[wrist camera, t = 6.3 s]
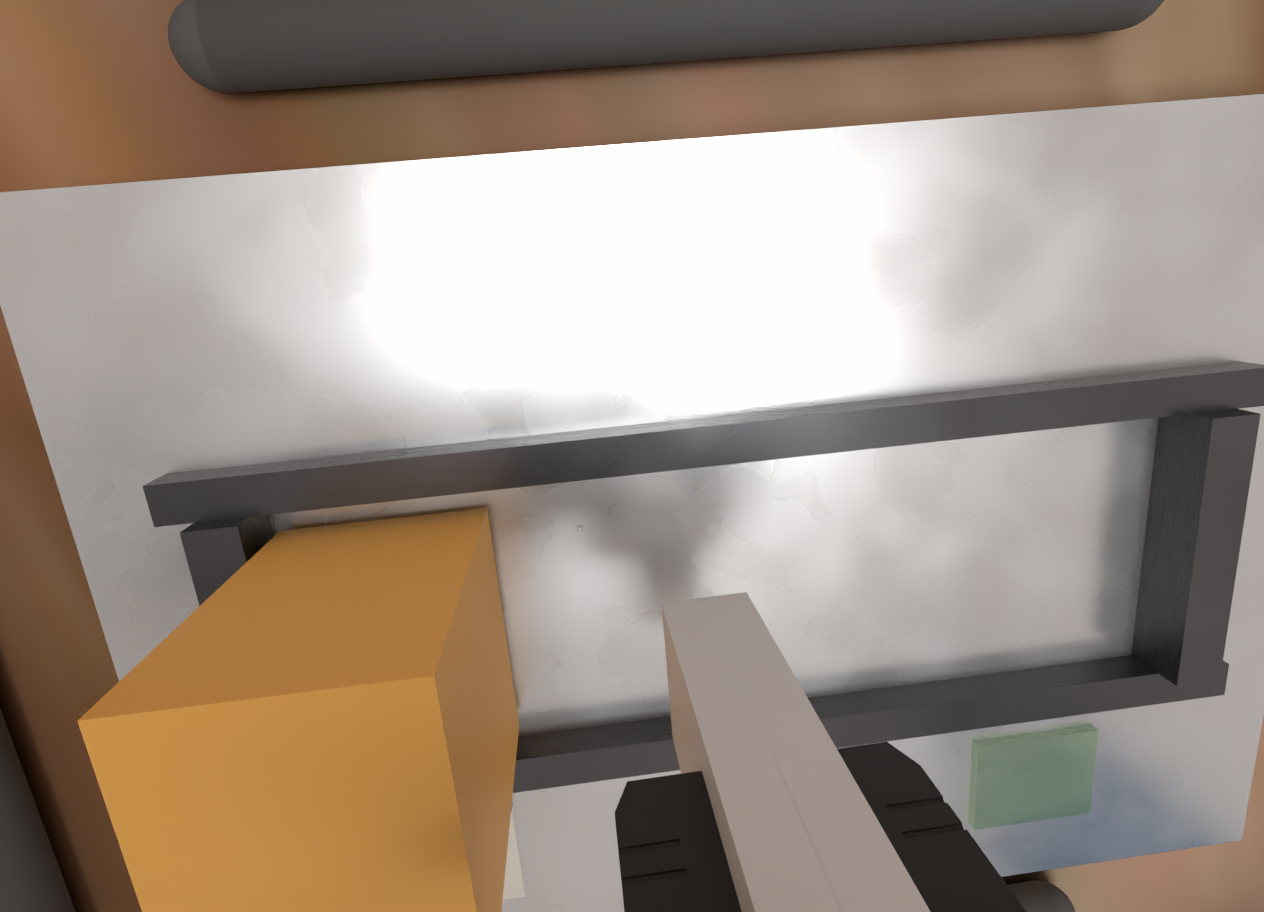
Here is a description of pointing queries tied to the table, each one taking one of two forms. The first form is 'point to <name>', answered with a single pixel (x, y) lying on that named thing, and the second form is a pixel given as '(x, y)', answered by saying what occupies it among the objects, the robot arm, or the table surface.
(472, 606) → the matte orange cube
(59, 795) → the table surface
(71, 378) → the panel
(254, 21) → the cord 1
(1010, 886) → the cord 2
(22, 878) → the rounded gray dowel
